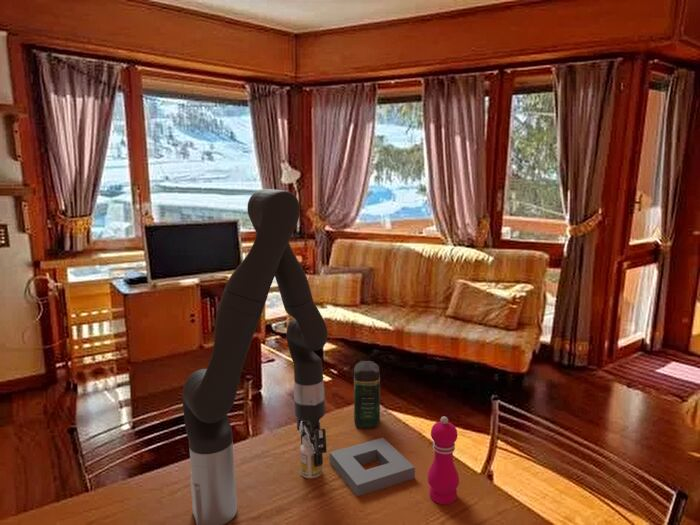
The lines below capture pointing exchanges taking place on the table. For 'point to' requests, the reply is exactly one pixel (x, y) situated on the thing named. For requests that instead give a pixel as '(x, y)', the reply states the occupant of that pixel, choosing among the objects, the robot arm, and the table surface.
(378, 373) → the coffee jar
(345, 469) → the socket block
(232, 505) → the robot arm
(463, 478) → the table surface
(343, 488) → the table surface
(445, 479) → the pepper mill
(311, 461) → the supplement bottle
